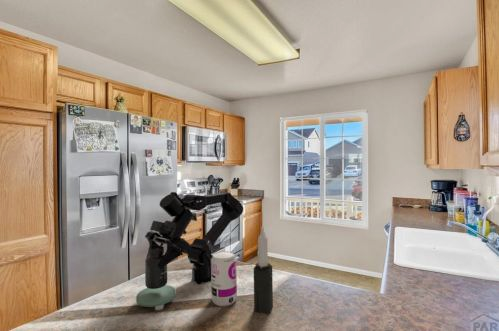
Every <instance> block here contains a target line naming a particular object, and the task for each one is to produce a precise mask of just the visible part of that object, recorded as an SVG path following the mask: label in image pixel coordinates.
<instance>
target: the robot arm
mask: <svg viewBox="0 0 499 331" xmlns="http://www.w3.org/2000/svg"><path fill="white" fill-rule="evenodd" d="M216 204H220V206H221V208H222V210H221V215H220V217H219V218H217V220H216V221H215V223H214V224H213V225H212V226H211V228H210V229H209V230H208V231H207V232H206V233H205V235H204V236H203V237H202V238H197V237H196V238H195V239H194V240H193V242H192V243H189V242H188V241H187V240H186V239H185V238H182V236H183V235H186V234H187V230H186V229H187V228H188V226H189V225H190V224H191V221H193V222H194V221H195V222H197V221H198V217H197V213H196V212H192V211H197V212H200V211H202V210H204V209H205V208H206V207H208V206H211V205H216ZM159 206H160V208H161V209H162V210H163V211H164V212H166V214H167V215H169V216H170V217H173V218H172V220H171V221H170V220H165V221H164V222H161V221H158V220H152V223H151V227H150V228H149V231H147V232H146V234H145V235H144V238H145V239H147V242H148V243H149V244H148V245H149V247H148V249H149V248H150V247H153V246H164V245H166V251H165V252H164V256H163V258H162V260H161V262H160V264H159V266H158V268H160V269H161V268H163V267H164V266H165V265H167V266H168V264H170V263H171V262H172V261H174V260H176V259H178V257H180V256H183V255H184V254H185V255H187V259H188V260H189V263H190V264H193V265H192V268H191V279H192V281H194V282H195V284H197V285H201V284H205V283H208V282H211V259H212V257H213V254H212V253H213V246H214V245H215V244H216V242H217V240H218V239H219V238H220V236H221V235H222V234H223V232H224V231H225V230H226V229H227V227H229V225H230V223H231V222H232V221H234V220H236V219H238V218H240V216H241V215H242V214H243V212H244V206H243V204H242V203H241V202H240V201H239V200H238V199H237V198H235V197H234V196H233V195H232V194H231V193H230V192H226V191H221V192H217V193H210V194H205V195H200V194H188V193H187V194H186V195H184V197H182V198H181V197H180V196H179V195H178V193H177V192H176V191H171V192H170V193H169V194H167V195H165V196H164V197H163V198H161V199H160V201H159ZM148 256H149V255H148V253H147V255H146V257H145V259H146V258H147V257H148Z"/></svg>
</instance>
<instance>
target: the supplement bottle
mask: <svg viewBox="0 0 499 331" xmlns="http://www.w3.org/2000/svg"><path fill="white" fill-rule="evenodd" d="M147 249H148V250H147V254H148V255H149V256H148V257H147V256H146V257H147V258H146V257H145V260H144V261H145V262H144V280H145V284H144V285H145V287H146V288H149V289H158V288H161V287H163V286H165V285H167V284H168V264H167V265H165V266H164V267H163V268H161V269H160V268H158V266H159V264H160V262H161V260H162V258H163V256H164V255H165V247H164V245H162V246H153V247H150V248H149V247H148V248H147Z"/></svg>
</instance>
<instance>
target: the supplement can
mask: <svg viewBox="0 0 499 331" xmlns="http://www.w3.org/2000/svg"><path fill="white" fill-rule="evenodd" d="M212 256H213V257H212V259H211V281H210V282H211V284H210V285H211V286H210V287H211V296H210V297H211V302H212V303H213V304H214V305H215V306H219V307H228V306H231V305H233V304H234V303H235V302H236V301H237V299H238V292H237V291H238V289H237V288H238V286H237V284H238V283H237V281H238V280H237V276H238V275H237V274H238V273H237V257H236V255H235V254H234V252H232V251H226V250H225V251H222V250H221V251H217V252H214V253H213V254H212Z"/></svg>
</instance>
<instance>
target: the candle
mask: <svg viewBox="0 0 499 331" xmlns="http://www.w3.org/2000/svg"><path fill="white" fill-rule="evenodd" d="M260 229H261V231H260V234H259V236H258V237H257V263H255V266H254V267H253V310H254V312H255V313H263V314H266V315H267V314H270V313H271V312H272V311H273V308H274V303H273V302H274V300H273V299H274V297H273V294H274V293H273V291H274V288H273V283H274V282H273V281H274V279H273V265H272V264H271V263H269V262H268V259H269V256H268V253H269V252H268V237H267V236H266V233H265V230H264V227H263V226H261V228H260Z"/></svg>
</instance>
